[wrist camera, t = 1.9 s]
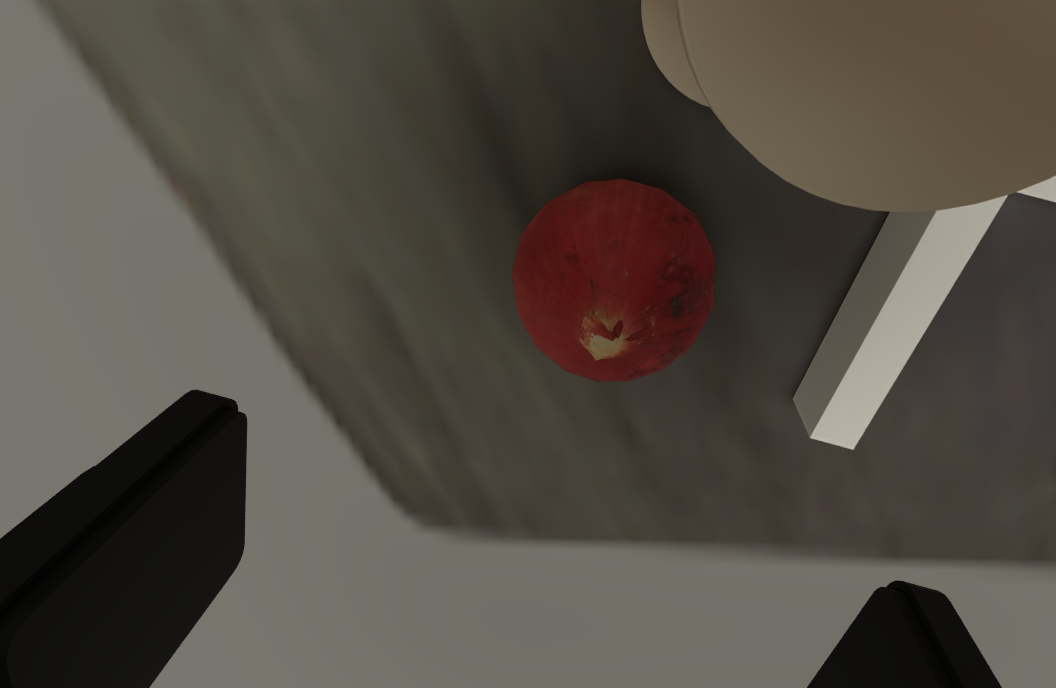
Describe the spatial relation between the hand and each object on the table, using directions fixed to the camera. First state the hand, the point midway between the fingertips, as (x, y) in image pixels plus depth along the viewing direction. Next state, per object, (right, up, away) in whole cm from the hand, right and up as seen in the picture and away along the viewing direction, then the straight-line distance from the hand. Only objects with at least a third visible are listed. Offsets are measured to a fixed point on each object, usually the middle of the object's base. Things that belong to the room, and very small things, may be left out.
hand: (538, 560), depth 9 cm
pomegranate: (+3, +7, +12) cm, 14 cm away
